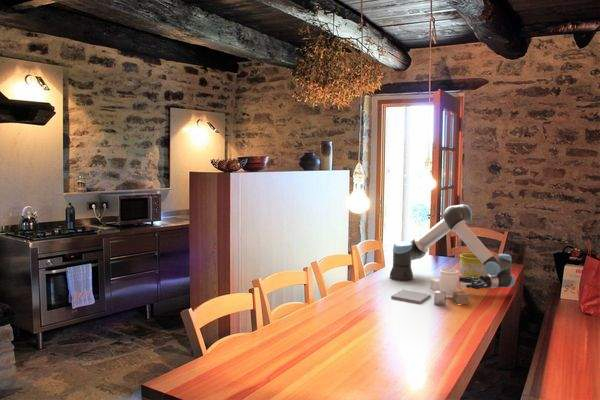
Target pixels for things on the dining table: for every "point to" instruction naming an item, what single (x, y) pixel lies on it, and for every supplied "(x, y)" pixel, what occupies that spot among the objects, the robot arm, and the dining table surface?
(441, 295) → the metal tin
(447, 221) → the robot arm
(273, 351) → the dining table surface
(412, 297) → the slate board
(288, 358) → the dining table surface
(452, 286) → the jar
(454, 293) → the walnut block
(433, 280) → the offwhite block
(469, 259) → the flowerpot
